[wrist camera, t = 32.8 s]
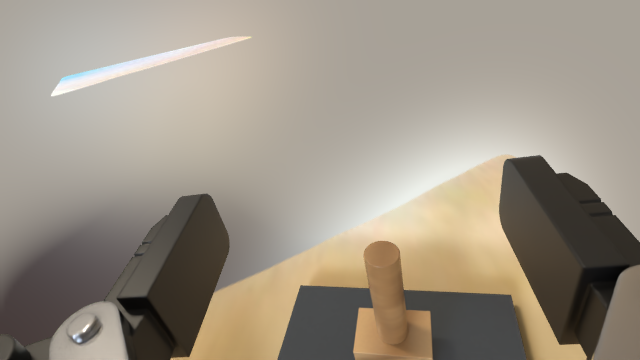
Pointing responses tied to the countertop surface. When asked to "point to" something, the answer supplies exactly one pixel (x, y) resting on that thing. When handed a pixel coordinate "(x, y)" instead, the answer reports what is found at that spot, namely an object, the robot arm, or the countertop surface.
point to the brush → (390, 313)
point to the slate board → (445, 307)
